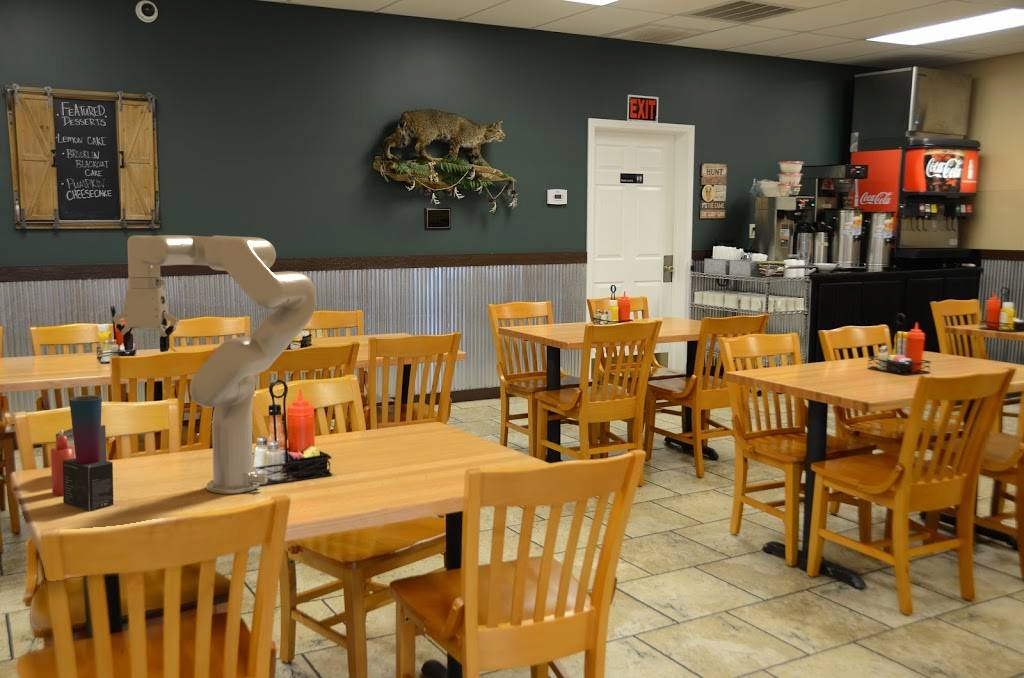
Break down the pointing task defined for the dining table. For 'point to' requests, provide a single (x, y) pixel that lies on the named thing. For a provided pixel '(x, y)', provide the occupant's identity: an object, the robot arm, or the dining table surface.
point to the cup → (86, 427)
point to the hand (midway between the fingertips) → (146, 350)
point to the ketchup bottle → (59, 462)
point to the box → (88, 484)
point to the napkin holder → (102, 441)
